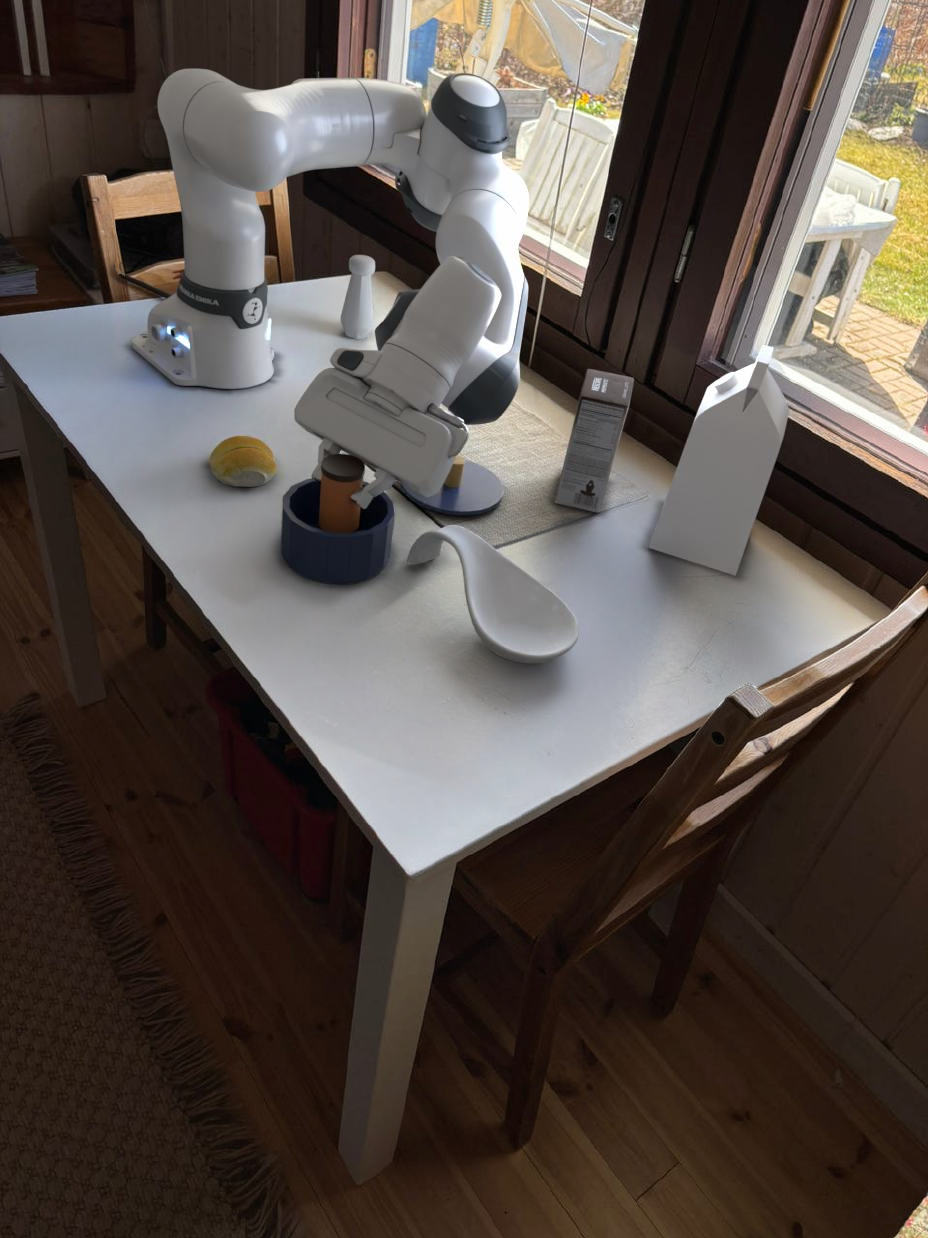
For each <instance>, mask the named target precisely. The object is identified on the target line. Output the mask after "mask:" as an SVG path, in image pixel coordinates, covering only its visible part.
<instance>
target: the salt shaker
mask: <svg viewBox="0 0 928 1238" xmlns="http://www.w3.org/2000/svg"><path fill="white" fill-rule="evenodd" d="M348 270H349V272H351V274H350V278H349V282H348V286H347V290H346V293H345V297H344V302H343V306H342V309H341V313H340V325H341V327H342V330H343V331H344V334H345V336H346V337H348V338H350V339H355V340H361V339H362V340H364V339H367V338H368V337H369V335H370V334H371V332H372V330H373V329H374V327H375V323H376V322H375V321H376V319H375V310H374V297H373V295H374V294H373V285H372V284H373V283H372V275H374V274H375V272H376V261H375V260H374V258H373V257H371V256H368V255H366V254H354V255H352V256H351V257H349V261H348Z"/></svg>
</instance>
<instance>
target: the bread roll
mask: <svg viewBox="0 0 928 1238" xmlns="http://www.w3.org/2000/svg"><path fill="white" fill-rule="evenodd" d="M274 457H275V456H274V453H273V451H272V449H271V448H270V447H269V445H268V444H266V443H265V442H264V441H263V440H261V439H259V438H257V437H254V436H250V435H234V436H230V437H227V438H225V439H224V440H222V441H221V442H219V444H217V445H216V446H215V447H214V449H212V452H211V453H210V455H209V460H208V461H209V462H208V464H209V467H210V471H211V473H212V475H213V476H214V477H215V478H216V479H217V480H218V481H219V482H221V483H223V484H225V485H227V486H231V487H239V488H240V487H242V488H255V487H260V486H264V485H265V484H267V483H268V482H269V481H270V480H272V479H273V477H274V476H276V473H277V470H278V467H277V463H276V461H275V458H274Z"/></svg>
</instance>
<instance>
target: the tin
mask: <svg viewBox="0 0 928 1238" xmlns="http://www.w3.org/2000/svg"><path fill="white" fill-rule="evenodd" d="M370 483H371V482H369V481H366V480H365V481H364V480H363V486H362V488H364V487H365V486H367V485H368V484H370ZM320 493H321V484H320V483H318V482H316V481H315V480H314V479H312V477H310V478H305V479H304V480H301V481H299V482H297V483H295V484H293V485H291V486H290V487H289V488H288V490H286V491H285V493H284V494H283V495H282V503H281V504H282V507H281V532H280V533H281V535H280V536H281V537H280V553H281V557H282V559H283V561H284V563H285V564H286V565H287V566H288V568H289V569H290V570H292V571H293V572H294V573H296V574H297V575H299V576H301V577H303V578H305V579H308V580H310V581H313V582H317V583H321V584H327V585H336V586H338V585H339V586H346V585H355V584H359V583H363V582H366V581H369V580H371V579H374V578H376V577H377V576H378V575H380V574H381V573H382V572H383V571H384V570H385V569H386V568H387V566H388V564H389V560H390V558H391V551H392V542H393V535H394V527H395V519H396V518H395V517H396V511H395V504H394V501H393V500H392V499H391V498H390V496H389V495H388V494H387V493H386V491H384V492H383V493H381V494H379V495H377V496H376V497H373V499H372V500H371V502H370V503H369V505H368V506H367V508H365V509H363V508H360V519H359V527H358V529H357V530H356V531H355V532H353V533H335V532H328V531H325V530H323V529H322V528H321V527H320V525H319V509H320Z"/></svg>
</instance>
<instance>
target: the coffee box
mask: <svg viewBox="0 0 928 1238" xmlns="http://www.w3.org/2000/svg"><path fill="white" fill-rule="evenodd" d="M634 382H635V378H634V377H631V376H626V375H622V374H616V373H612V372H608V371H601V370H598V369H592V368H587V370H586V373H585V377H584V380H583V383H582V387H581V390H580V395H579V397H578V403H577V407H576V411H575V415H574V419H573V423H572V427H571V431H570V432H571V433H570V436H569V440H568V444H567V447H566V451H565V456H564V459H563V460H564V461H563V465H562V470H561V473H560V477H559V481H558V486H557V491H556V495H555V500H554V503H555V504H558V505H563V506H566V507H570V508H575V509H579V510H583V511H589V512H593V513H597V514H598V513H600V511H601V508H602V507H601V506H602V503H603V500H604V497H605V493H606V489H607V486H608V483H609V479H610V475H611V472H612V469H613V466H614V462H615V458H616V455H617V451H618V447H619V445H620V441H621V437H622V434H623V429H624V426H625V422H626V419H627V415H628V411H629V407H630V404H631V399H632V393H633V388H634Z"/></svg>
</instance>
